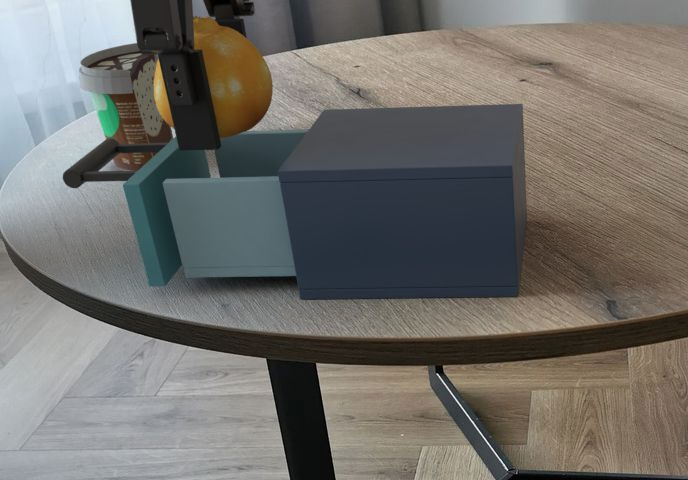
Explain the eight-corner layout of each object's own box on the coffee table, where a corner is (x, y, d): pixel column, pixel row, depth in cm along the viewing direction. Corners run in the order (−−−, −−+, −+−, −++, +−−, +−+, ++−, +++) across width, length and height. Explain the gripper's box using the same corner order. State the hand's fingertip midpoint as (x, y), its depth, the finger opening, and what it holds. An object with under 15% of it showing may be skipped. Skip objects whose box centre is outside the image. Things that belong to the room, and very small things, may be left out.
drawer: (73, 287, 70) (41, 184, 66) (140, 219, 80) (115, 127, 76) (346, 283, 68) (330, 177, 64) (377, 214, 79) (365, 119, 75)
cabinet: (300, 299, 68) (277, 171, 63) (340, 222, 80) (323, 109, 75) (518, 296, 67) (512, 165, 62) (527, 219, 79) (522, 103, 74)
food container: (117, 140, 102) (92, 44, 97) (176, 135, 103) (154, 39, 98) (87, 181, 92) (57, 76, 87) (153, 175, 92) (126, 70, 87)
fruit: (155, 86, 72) (140, 0, 65) (265, 81, 74) (262, -4, 67) (165, 171, 68) (150, 88, 61) (281, 162, 70) (279, 81, 64)
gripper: (139, -248, 48) (226, 179, 60) (258, -243, 66) (307, 84, 78) (-3, -240, 49) (110, 181, 61) (153, -237, 67) (217, 87, 79)
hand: (221, 126), depth 69 cm, fingers closed on fruit, 8 cm apart
